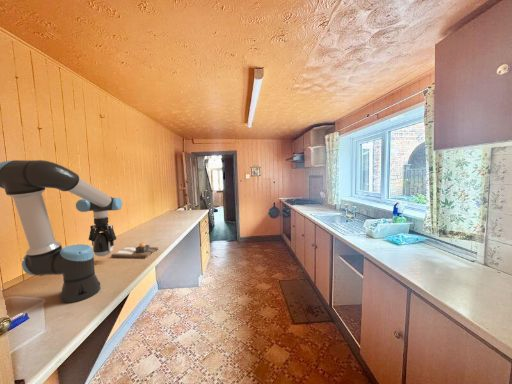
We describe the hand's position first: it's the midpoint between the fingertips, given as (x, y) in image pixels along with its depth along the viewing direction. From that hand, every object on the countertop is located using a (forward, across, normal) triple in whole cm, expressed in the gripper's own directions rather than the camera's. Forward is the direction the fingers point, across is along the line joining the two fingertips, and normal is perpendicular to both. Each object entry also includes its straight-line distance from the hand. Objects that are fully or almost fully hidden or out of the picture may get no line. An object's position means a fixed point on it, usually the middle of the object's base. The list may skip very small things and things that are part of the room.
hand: (103, 250), depth 136 cm
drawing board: (+8, -11, -16) cm, 21 cm away
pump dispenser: (+3, 0, 0) cm, 3 cm away
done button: (+3, -17, -16) cm, 23 cm away
